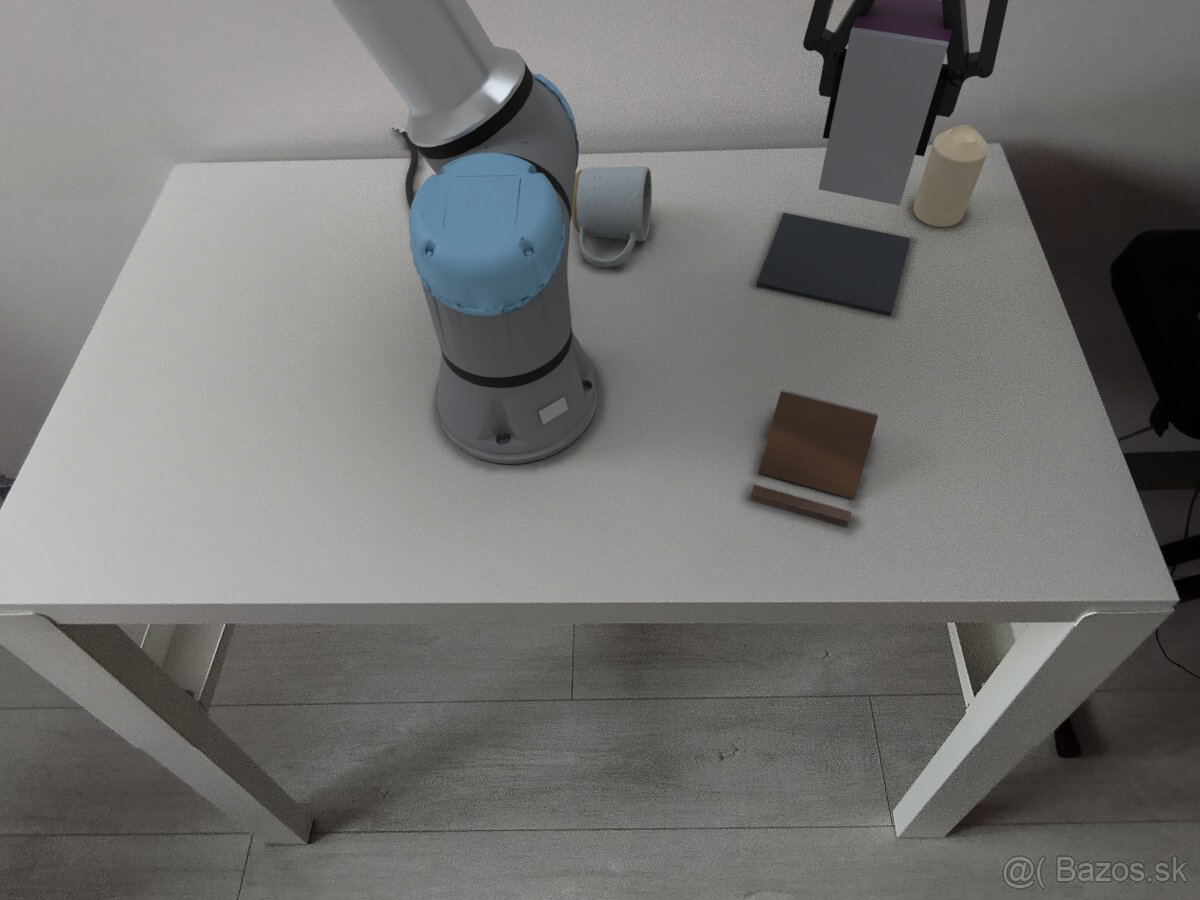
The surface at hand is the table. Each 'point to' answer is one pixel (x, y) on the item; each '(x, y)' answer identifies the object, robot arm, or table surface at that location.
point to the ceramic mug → (612, 207)
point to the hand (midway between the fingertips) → (875, 137)
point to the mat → (835, 263)
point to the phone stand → (815, 453)
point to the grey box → (884, 98)
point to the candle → (950, 176)
